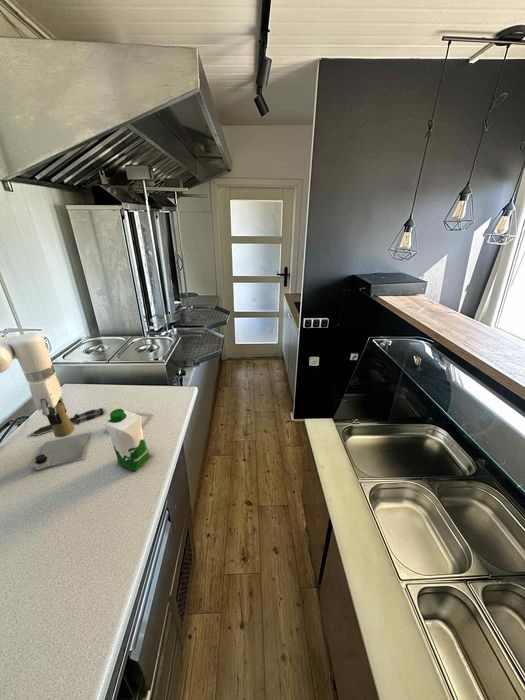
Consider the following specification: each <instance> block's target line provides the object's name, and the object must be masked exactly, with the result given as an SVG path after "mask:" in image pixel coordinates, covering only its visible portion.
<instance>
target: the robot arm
mask: <svg viewBox="0 0 525 700" xmlns="http://www.w3.org/2000/svg"><path fill="white" fill-rule="evenodd" d="M13 360H17V362H18V364H19V366H20V368H21V371H22V373H23V375H24V377H25V380H26V382H27V383H28V386H29V390H30V394H31V397H32V400H33V402H34V405H35V408H36V410H37V411H41V413H42V416H44V417H46V418H47V421H48V422H49V425H57V424H61V423H62V420H61V418H60V415H59V413H57V411H56V407H55V406H56V405H57V403H62V404H63V405H64V406H65V413H66V414H67V408H66V405H65V402H64V400H63V398H62V394H63V391H62V387H61V385H60V381H59V379H58V377H57V375H56V374H57V372H56V368H55V366H54V364H53V361H52V359H51V356H50V354H49V351H48V348H47V346H46V343H45V340H44V338H43V336H42V335H41V334H40V333H37V332H28V333H22V334H20V335H12V336H0V374H2V373H5V372H6V371H7V370H8V369H9V368H10V366H11V364H12V362H13ZM51 408H52V409H53V411H49V410H48V409H51Z"/></svg>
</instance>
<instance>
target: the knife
mask: <svg viewBox="0 0 525 700" xmlns="http://www.w3.org/2000/svg"><path fill="white" fill-rule="evenodd" d="M95 412H97V413H95ZM94 413H95V414H94ZM84 415H86V416H84ZM98 415H100V416H103V415H105V414H104V409H103V408H102V407H101V408H97V409H90V410H87V411H85V412H82V413H80V414H78V413H75V414H74V415H73V417H71V418H69V419H70V421H71V422H72V424H73V425H74V424H75V425H76V424H77V425H79V424H80V423H81V421H84V420H86V421H91V420H93V419H95V418H96V416H98ZM81 416H84V417H82V418H81ZM52 431H53V427H52V425H50V424H48V425H45V426H42V427H40V428H38V429H36V430H35V431H33V432H32V433H30V434H29V436H39V435H42V434H46V433H49V432H52Z"/></svg>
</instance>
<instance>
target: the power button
mask: <svg viewBox="0 0 525 700" xmlns="http://www.w3.org/2000/svg"><path fill="white" fill-rule="evenodd" d="M34 459H35V460H36V462H37V463H38V464H39V463H42V462H44V461H45V460H46V457H45V455H44V454H41V453H40V454H39V455H37V456H36V457H35V458H34Z"/></svg>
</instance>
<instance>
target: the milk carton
mask: <svg viewBox="0 0 525 700" xmlns="http://www.w3.org/2000/svg"><path fill="white" fill-rule="evenodd" d="M109 418H110V419H109V420H107V421H106V422H104V427H105V428H106V431H107V432H108V435H109V436H110V440H111V443H112V446H113V449H114V452H115V455H116V460H117V462H118V465H119V466H121V467H123V468H125V469H128V470H129V471H131V472H137V470H139V468H141V467H142V466H143V465H144V464H145V463H146V462H147V461H149V459H150V458H151V455H150V453H149V449H148V447H147V444H146V440H145V435H144V431H143V427H142V415H139V414H137V413H135V412H133V411H129V410H127V409H126V410H125V409H122V408H116V409H114V410H112V411H111V412H110V413H109Z"/></svg>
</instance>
